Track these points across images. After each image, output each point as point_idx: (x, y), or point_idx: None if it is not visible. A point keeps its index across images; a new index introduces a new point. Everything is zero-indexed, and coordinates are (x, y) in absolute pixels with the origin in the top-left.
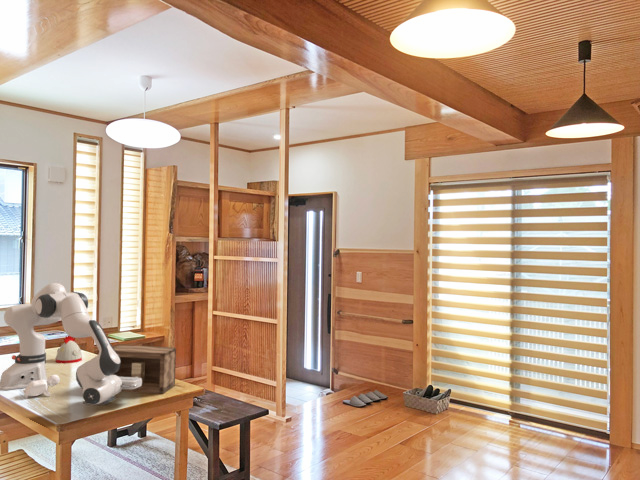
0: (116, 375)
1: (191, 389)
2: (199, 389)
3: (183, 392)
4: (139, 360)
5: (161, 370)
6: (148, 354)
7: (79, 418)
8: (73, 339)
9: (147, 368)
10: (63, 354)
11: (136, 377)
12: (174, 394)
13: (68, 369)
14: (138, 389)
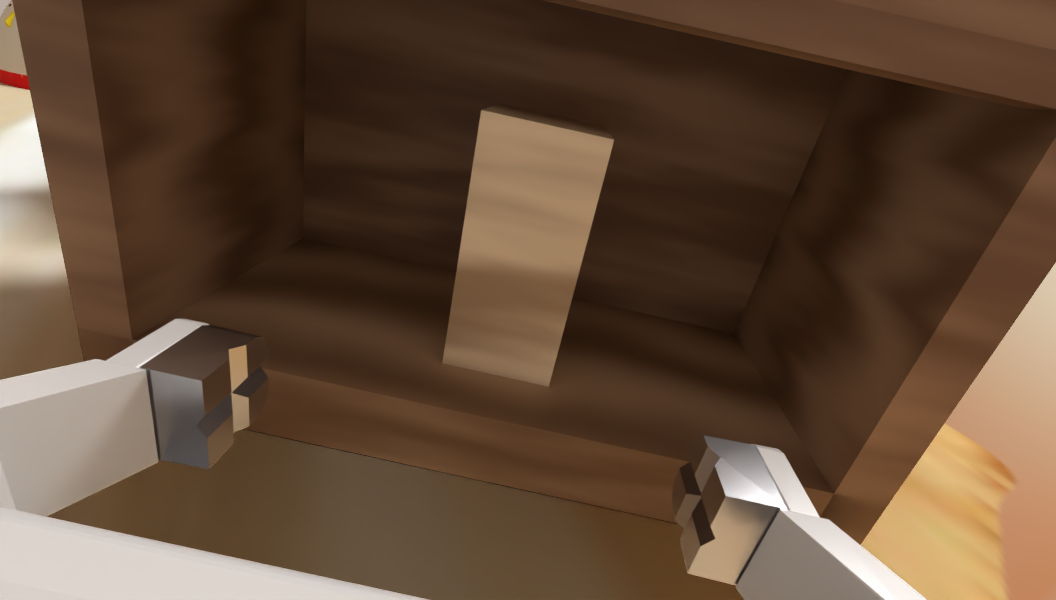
0: (220, 330)
1: (932, 445)
2: (986, 450)
3: (970, 516)
4: None
5: (978, 304)
6: None
7: None
8: None
9: None
10: (18, 44)
11: (800, 498)
12: (971, 580)
13: (8, 116)
14: (550, 466)
